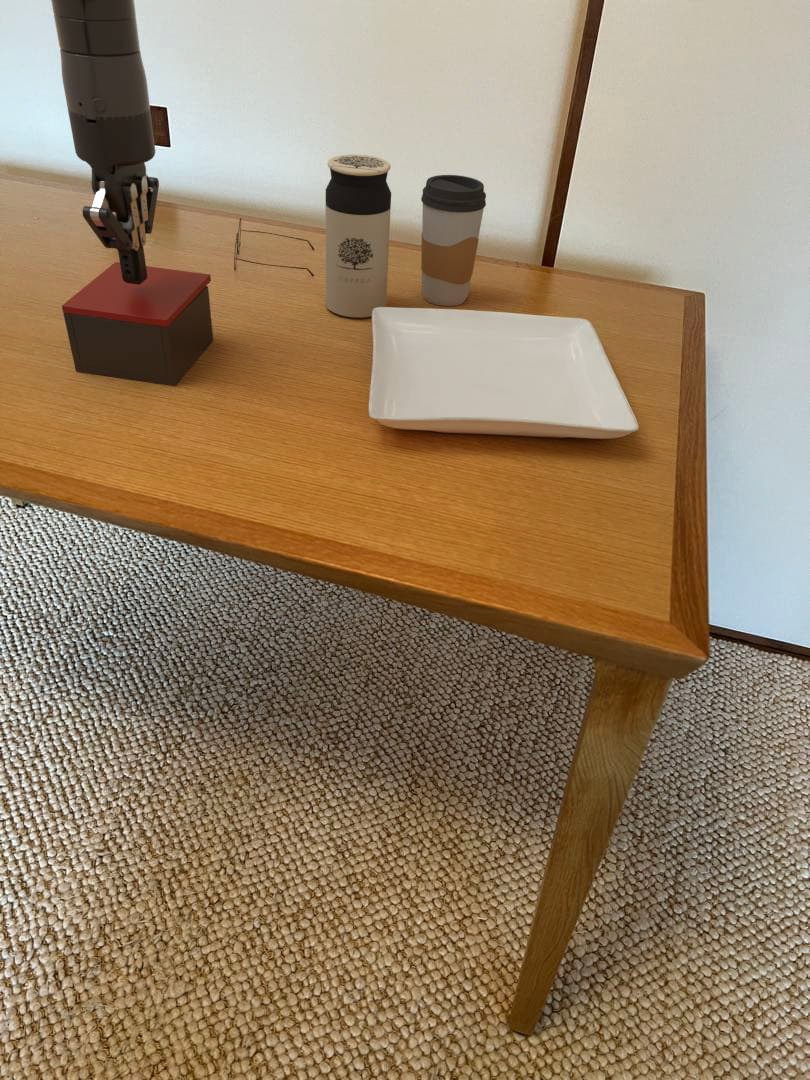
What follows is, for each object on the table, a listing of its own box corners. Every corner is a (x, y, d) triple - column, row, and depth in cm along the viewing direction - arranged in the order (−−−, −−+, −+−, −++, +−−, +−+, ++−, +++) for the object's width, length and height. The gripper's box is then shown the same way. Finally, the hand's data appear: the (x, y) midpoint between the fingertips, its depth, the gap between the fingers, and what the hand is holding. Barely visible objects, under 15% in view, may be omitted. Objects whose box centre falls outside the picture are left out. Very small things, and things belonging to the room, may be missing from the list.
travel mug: (337, 291, 111) (338, 150, 100) (393, 301, 110) (400, 159, 99) (316, 313, 105) (315, 166, 94) (375, 324, 104) (381, 175, 93)
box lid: (116, 268, 95) (115, 261, 95) (211, 280, 94) (210, 274, 94) (62, 312, 86) (61, 305, 85) (167, 327, 84) (166, 320, 84)
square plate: (634, 459, 83) (643, 427, 80) (366, 448, 81) (367, 414, 79) (585, 342, 104) (591, 313, 101) (371, 331, 102) (372, 301, 100)
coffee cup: (446, 281, 117) (457, 170, 107) (486, 301, 112) (501, 187, 102) (401, 293, 112) (408, 178, 103) (441, 314, 108) (452, 197, 98)
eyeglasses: (314, 247, 124) (314, 213, 121) (314, 279, 114) (313, 243, 111) (239, 245, 123) (237, 211, 119) (232, 277, 113) (230, 241, 110)
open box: (122, 328, 99) (112, 273, 95) (213, 340, 98) (208, 286, 93) (75, 371, 90) (63, 313, 86) (175, 386, 89) (167, 327, 85)
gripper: (103, 87, 83) (129, 256, 94) (35, 114, 73) (73, 300, 84) (173, 95, 82) (191, 264, 93) (114, 123, 72) (142, 310, 83)
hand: (135, 281), depth 88 cm, fingers closed
